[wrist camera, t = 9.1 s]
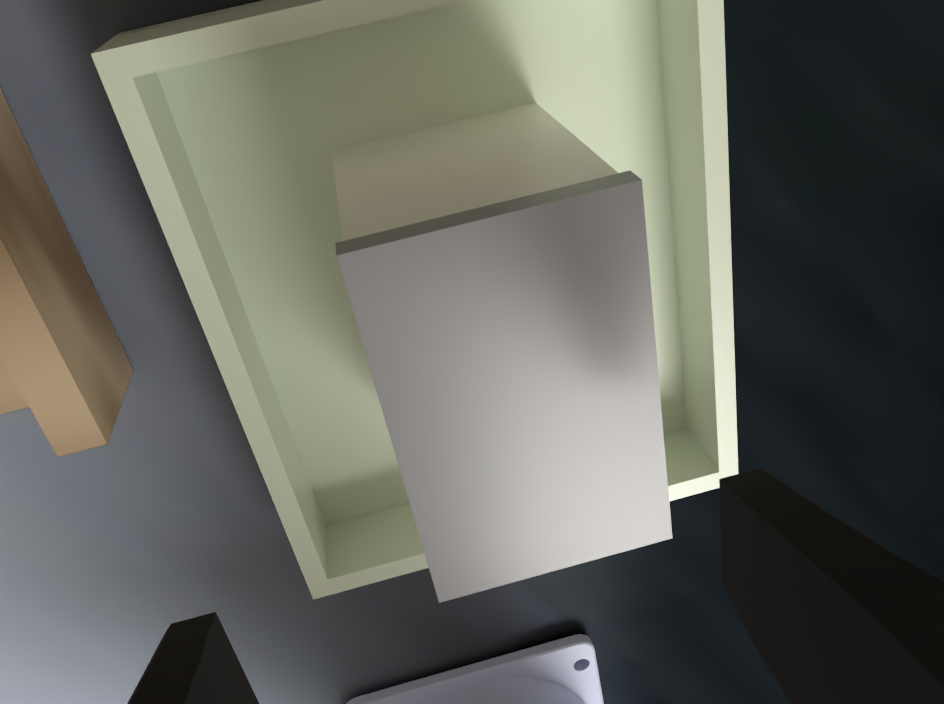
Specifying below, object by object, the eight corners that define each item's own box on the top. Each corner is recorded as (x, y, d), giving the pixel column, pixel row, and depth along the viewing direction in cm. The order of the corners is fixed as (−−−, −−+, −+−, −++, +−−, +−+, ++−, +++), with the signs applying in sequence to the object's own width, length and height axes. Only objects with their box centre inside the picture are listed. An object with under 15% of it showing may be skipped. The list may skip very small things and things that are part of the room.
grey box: (582, 398, 21) (674, 558, 16) (409, 443, 21) (444, 623, 16) (540, 96, 17) (642, 179, 12) (325, 147, 17) (336, 255, 12)
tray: (697, 427, 23) (738, 481, 21) (312, 532, 22) (313, 599, 20) (665, -92, 16) (720, -90, 14) (119, 32, 16) (90, 53, 14)
